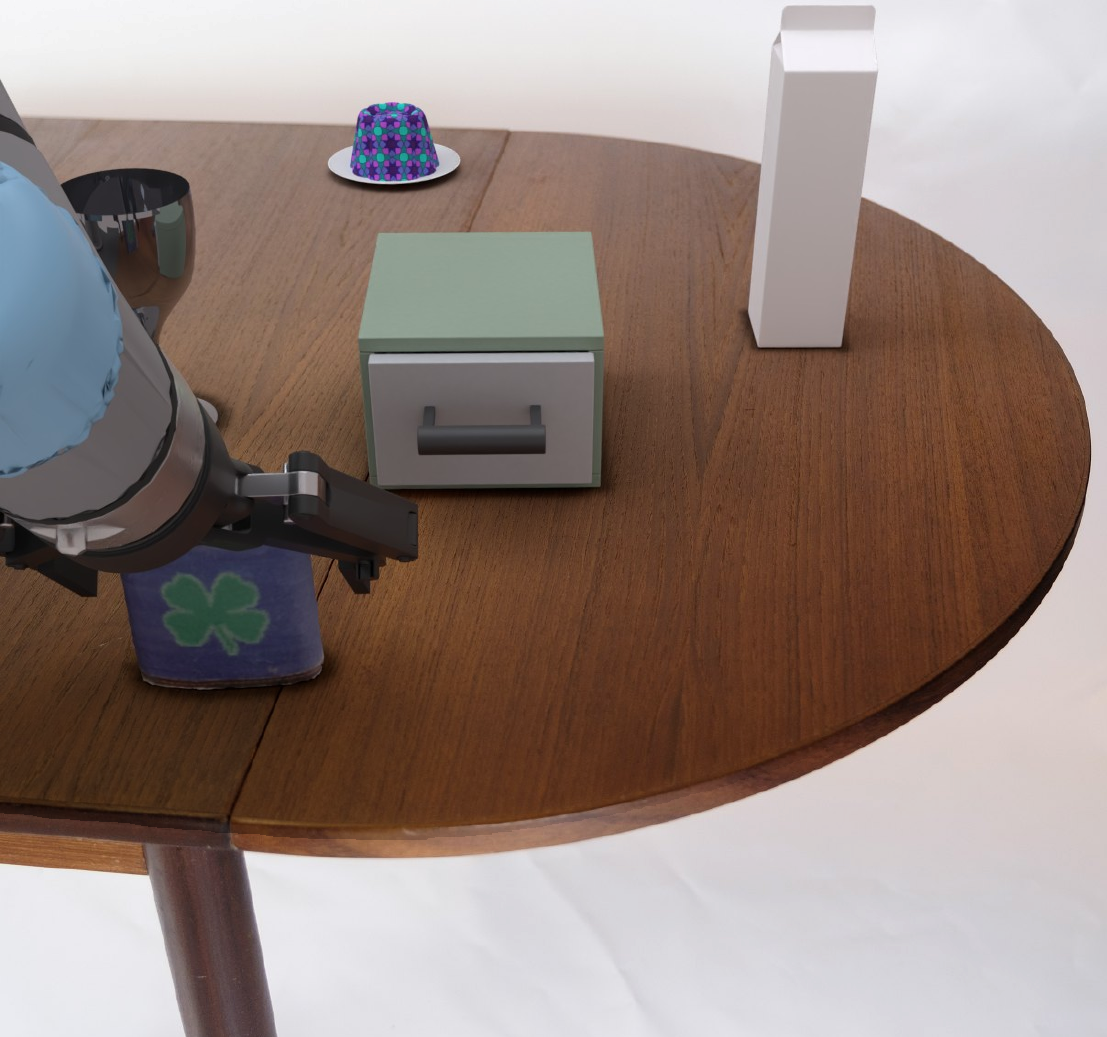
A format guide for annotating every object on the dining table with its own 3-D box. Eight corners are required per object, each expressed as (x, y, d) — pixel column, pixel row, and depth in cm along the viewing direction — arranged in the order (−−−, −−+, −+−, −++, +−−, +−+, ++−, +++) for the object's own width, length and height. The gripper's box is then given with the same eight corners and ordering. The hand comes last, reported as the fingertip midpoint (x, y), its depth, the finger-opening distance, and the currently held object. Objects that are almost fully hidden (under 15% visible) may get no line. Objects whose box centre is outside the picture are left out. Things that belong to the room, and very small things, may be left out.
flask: (327, 653, 73) (305, 469, 67) (321, 689, 71) (297, 503, 65) (145, 655, 73) (105, 471, 67) (133, 691, 71) (90, 505, 64)
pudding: (459, 146, 137) (457, 89, 133) (461, 190, 127) (459, 130, 124) (332, 148, 136) (327, 91, 133) (324, 193, 126) (318, 132, 123)
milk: (747, 314, 107) (774, -7, 93) (829, 313, 107) (867, -8, 94) (757, 349, 102) (787, 16, 89) (843, 348, 102) (886, 15, 89)
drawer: (595, 522, 82) (598, 396, 77) (372, 525, 81) (361, 398, 77) (581, 372, 97) (583, 259, 92) (393, 374, 96) (385, 260, 92)
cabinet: (600, 487, 87) (604, 335, 81) (370, 489, 86) (357, 337, 80) (588, 369, 99) (591, 230, 93) (387, 371, 99) (377, 232, 93)
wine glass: (142, 385, 97) (100, 161, 88) (247, 403, 95) (215, 176, 86) (73, 439, 91) (21, 205, 82) (183, 460, 89) (142, 223, 80)
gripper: (-267, 559, 49) (-29, 646, 71) (457, 551, 50) (478, 640, 71) (-254, 348, 50) (-24, 496, 72) (456, 342, 51) (477, 492, 72)
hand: (227, 568), depth 71 cm, fingers open, 13 cm apart
